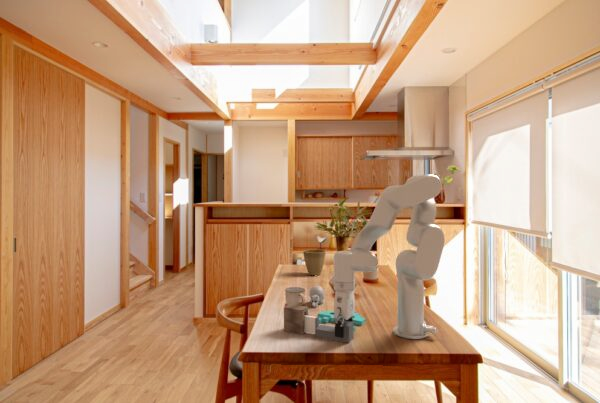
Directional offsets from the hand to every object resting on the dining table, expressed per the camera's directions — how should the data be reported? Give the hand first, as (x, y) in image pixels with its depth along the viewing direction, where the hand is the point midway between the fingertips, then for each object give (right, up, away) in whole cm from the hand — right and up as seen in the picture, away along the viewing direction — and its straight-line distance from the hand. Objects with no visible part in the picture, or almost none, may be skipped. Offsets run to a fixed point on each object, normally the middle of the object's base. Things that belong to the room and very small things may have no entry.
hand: (343, 332), depth 138 cm
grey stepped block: (-3, -2, +2) cm, 5 cm away
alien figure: (+1, -3, +21) cm, 21 cm away
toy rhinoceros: (-8, -2, +44) cm, 45 cm away
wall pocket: (-17, -2, +9) cm, 20 cm away
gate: (-15, -2, +7) cm, 17 cm away
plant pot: (-6, -1, +114) cm, 114 cm away
